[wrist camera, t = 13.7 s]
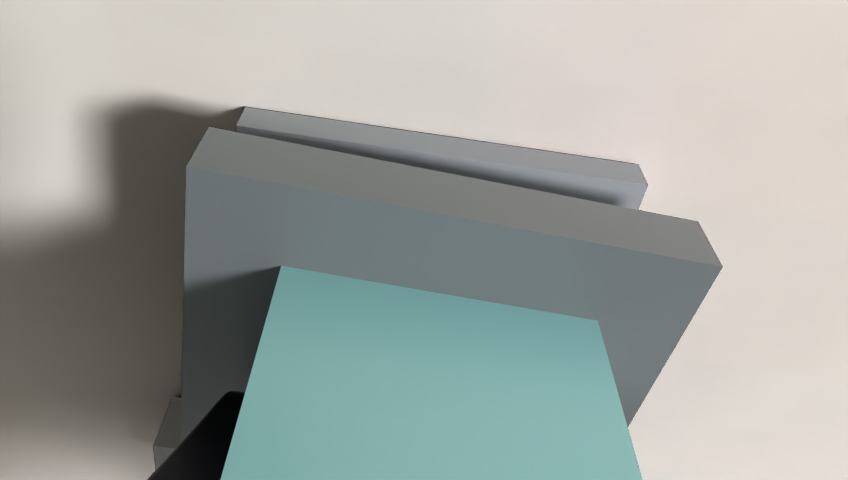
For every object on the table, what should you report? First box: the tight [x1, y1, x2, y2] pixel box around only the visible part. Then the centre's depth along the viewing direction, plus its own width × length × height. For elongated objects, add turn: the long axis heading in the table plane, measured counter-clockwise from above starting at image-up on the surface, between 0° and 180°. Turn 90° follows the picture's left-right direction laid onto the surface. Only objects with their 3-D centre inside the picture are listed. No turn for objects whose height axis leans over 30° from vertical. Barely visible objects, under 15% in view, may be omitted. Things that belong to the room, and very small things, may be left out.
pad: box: [236, 107, 648, 210], centre depth 12 cm, size 6×6×1 cm
